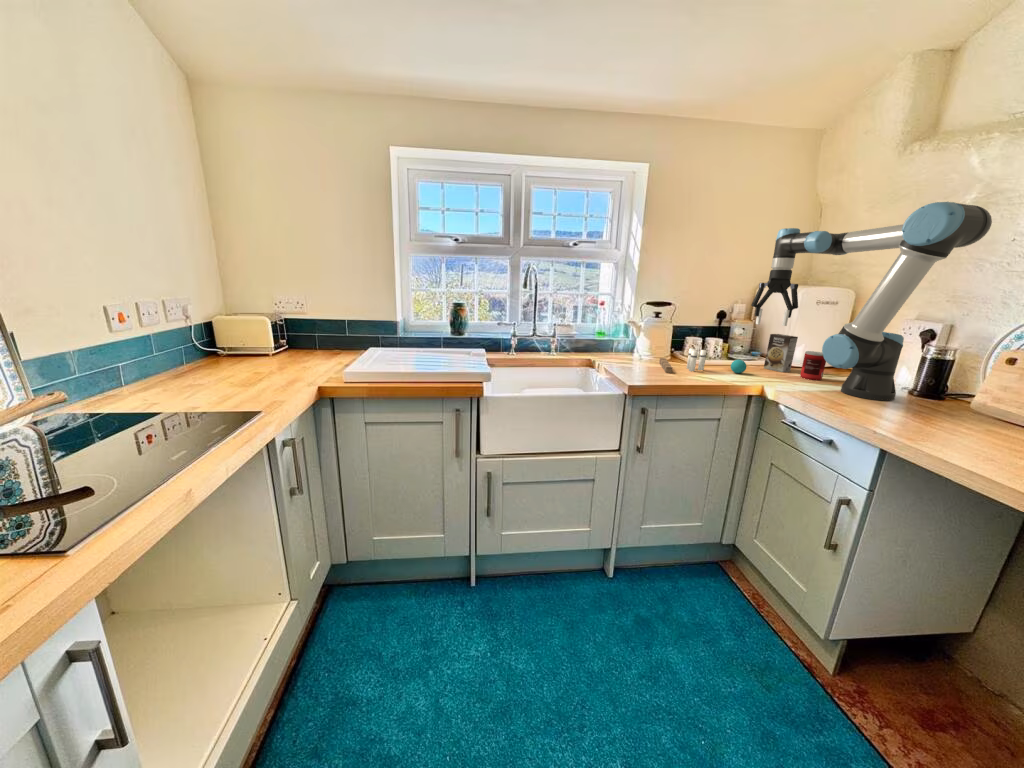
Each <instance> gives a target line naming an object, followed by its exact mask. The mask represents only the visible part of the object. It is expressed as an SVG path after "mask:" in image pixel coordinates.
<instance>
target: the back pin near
mask: <svg viewBox="0 0 1024 768" xmlns="http://www.w3.org/2000/svg"><path fill="white" fill-rule="evenodd" d="M698 352H699V351H698V350H696V349H695V350H692V352H691V359H690V366H689V369H688V371H689V372H692V371H694V372H695V371H696V364H697V358H698Z"/></svg>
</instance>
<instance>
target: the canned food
mask: <svg viewBox="0 0 1024 768" xmlns="http://www.w3.org/2000/svg"><path fill="white" fill-rule="evenodd" d="M826 363H827V362H826V360H825V359H824V357H823V353H822V351H821V352H820V351H813V350H812V351H811V350H810V351H809V350H807V351H805V353H804V356H803V361H802V365H801V370H800V375H799V376H800V378H801V377H802V378H801V379H804V378H805V379H804V380H808V379H809V380H808V381H821V380H822V379H823V376H824V371H825V367H826Z"/></svg>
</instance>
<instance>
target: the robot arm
mask: <svg viewBox="0 0 1024 768" xmlns="http://www.w3.org/2000/svg"><path fill="white" fill-rule="evenodd" d="M992 223H993V220H992V215H991V213H990V212H989V211H988V210H987V209H986V208H984V207H982V206H979V205H973V204H967V203H965V204H963V203H959V202H953V201H952V202H951V201H935V202H930V203H928V204H925V205H923V206H921V207H919V208H917V209H915V210H914V211H913V212H912V213H911V214H910V215H909V216H908V217H907V218H906V220H905V221H904V223H903V224H898V225H897V224H896V225H889V226H888V225H887V226H883V227H875V228H870V229H869V228H868V229H863V230H855V231H854V230H853V231H849V232H848V231H847V232H841V233H831V232H828V231H826V230H814V231H808V232H801V229H800V228H796V227H795V228H794V227H789V228H781V229H779V230H778V231H777V234H776V238H775V244H774V251H773V257H772V262H771V266H770V268H771V270H770V271H769V278H768V281H767V282H759V284H758V290H757V292H756V294H755V296H754V298H753V300H752V303H751V305H750V306H751V307H753V308H754V309H755V312H754V316H755V317H756V318H755V325H761V320H762V319H761V318H762V316H763V308H762V307H763V306H764V304H765V303H766V302H767V300H768V299H769V298H770V296H771V295H773V294H775V293H776V294H777V293H778V294H781V295H782V298H783V300H784V303H785V306H786V309H784V313H783V317H782V322H781V326H784V327H787V325H788V321H789V319H791V318H792V313H793V310H795V309H798V308H799V296H798V289H799V284H798V283H791V278H792V274H793V270H792V269H794V266H795V259H796V254H817V255H819V254H820V255H833V256H843V255H847V254H849V253H861V252H872V251H880V250H881V251H882V250H892V249H899V251H900V253H899V254H898V256H897V257H896V259H895V260H894V262H892V264H891V266H890V267H889V269H888V270H887V271H886V272H885V275H884V276H883V277H882V278H881V280H880V281H879V284H878V285H877V286H876V287H875V289H874V291H873V292H872V293H871V295H870V297H869V298H868V299H867V301H866V303H865V304H864V305H863V307H862V308H861V310H860V311H859V312H858V313H857V315H856V317H855V318H854V320H853V321H852V322H848V323H845V324H844V325H843V326H842V328H841V329H840V331H839V332H838V333H836V334H833V335H830V336H828V337H827V338H826V339H825V340H824V342H823V344H822V348H821V349H822V350H821V352H822V353H823V357H824V359H825V360H826V363H827V364H828V365H830V367H833V368H837V369H845V370H847V369H851V372H850V373H849V374H848V375H847V378H846V379H845V380H844V381H843V383H842V385H841V388H840V392H842V393H844V394H846V395H849V396H852V397H856V398H861V399H868V400H873V401H886V402H888V401H894V400H895V398H896V396H897V395H896V394H897V392H896V383H895V378H894V377H895V373H896V370H897V366H898V363H899V359H900V355H901V352H902V349H903V347H904V340H905V337H904V336H903V335H901V334H899V333H894V332H887V331H885V330H886V328H888V326H889V325H890V323H891V322H892V320H893V319H894V318H895V316H896V315H897V313H899V311H900V310H901V309H902V307H904V304H905V303H906V302H907V300H908V299H909V298H910V297H911V295H912V294H913V293H914V291H915V290H916V289H917V287H918V286H919V285H920V283H921V282H922V281H923V279H924V278H925V277H926V275H927V274H928V273H929V271H930V270H931V268H933V266H934V265H935V263H937V262H939V261H942V260H945V259H947V258H948V256H949V255H950V254H951V253H952V251H953V250H954V249H955V248H964V247H968V246H971V245H973V244H976V243H977V242H979V241H980V240H981V239H983V238H984V237H985V236H986V235H987V234H988V233H989V231H990V230H991V227H992ZM765 288H768V290H766V293H764V295H763V297H761V296H762V294H763V292H764V290H765ZM789 288H790V292H791V295H790V296H791V299H790V297H789V292H788V289H789Z"/></svg>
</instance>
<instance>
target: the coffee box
mask: <svg viewBox="0 0 1024 768" xmlns="http://www.w3.org/2000/svg"><path fill="white" fill-rule="evenodd" d="M798 338H799V337H798V336H796V335H788V334H780V333H771V334H769V339H768V345H767V348H766V349H767V350H766V354H765V358H764V365H763V369H765V370H766V369H767V370H770V371H775V372H778V373H789V372H791V370H792V364H793V360H794V356H795V351H796V346H797V342H798V340H799V339H798Z"/></svg>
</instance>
